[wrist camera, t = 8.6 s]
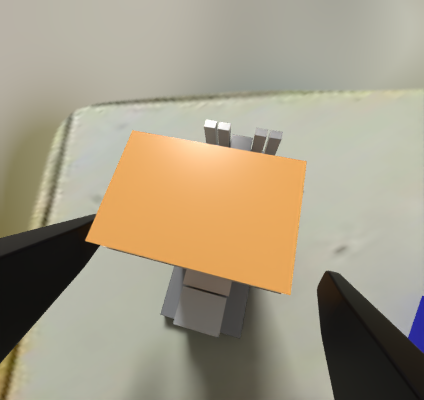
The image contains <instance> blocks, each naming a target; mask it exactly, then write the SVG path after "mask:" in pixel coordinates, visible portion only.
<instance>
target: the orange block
mask: <svg viewBox="0 0 424 400" xmlns="http://www.w3.org/2000/svg"><path fill="white" fill-rule="evenodd" d="M306 163H307V161H302V160H296V159H290V158H285V157H279V156H274V155H268V154H262V153H257V152H251V151H246V150H240V149H234V148H229V147H223V146H218V145H212V144H206V143H201V142H195V141H190V140H184V139H178V138H173V137H167V136H162V135H156V134H150V133H145V132H139V131H134V130H133V131H132V133H131V135H130V137H129V140H128V142H127V144H126V147H125V149H124V151H123V154H122V156H121V158H120V161H119V163H118V165H117V168H116V170H115V172H114V175H113V177H112V179H111V182H110V184H109V186H108V189H107V191H106V193H105V196H104V198H103V200H102V203H101V205H100V207H99V210H98V212H97V214H96V217H95V219H94V221H93V224H92V226H91V228H90V231H89V233H88V235H87V238H86V240H85V241H87V242H91V243H95V244H98V245H102V246H104V247H105V248H109V249H113V250H116V251H120V252H124V253H128V254H131V255H135V256H139V257H143V258H147V259H150V260H154V261H158V262H162V263H165V264H169V265H173V266H177V267H181V268H184V269H188V270H192V271H196V272H199V273H203V274H207V275H211V276H214V277H218V278H222V279H226V280H230V281H233V282H237V283H241V284H245V285H248V286H252V287H256V288H260V289H263V290H267V291H271V292H275V293H279V294H281V293H284V294H288V295H290V294H291V286H292V278H293V270H294V261H295V253H296V245H297V237H298V229H299V220H300V212H301V204H302V196H303V187H304V179H305V171H306Z"/></svg>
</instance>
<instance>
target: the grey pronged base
mask: <svg viewBox="0 0 424 400" xmlns="http://www.w3.org/2000/svg"><path fill="white" fill-rule="evenodd" d="M204 130H205V136H206V143H207V144H212V145H218V146H223V147H229V148H234V149H240V150H246V151H251V152H257V153H262V154H268V155H274V156H275V154H276V151H277V149H278V146H279V144H280V142H281V139H282V133H283V132H280V131H274V130H271V131H270V134H269V137H268V141H267V144H266V147H265V150H264V152H263V151H262V150H263V147H264V143H265V140H266V137H267V132H268V130H267V129H261V128H256V131H255V136H254V141H253V146H252V149H251V145H252V140H253V138H251V137H245V136H240V135H234V134H232V138H231V142H230V133H231V123H224V122H220V123H219V126H218V130H217V121H212V120H206V122H205V125H204ZM218 142H219V144H218ZM249 287H250V286H248V285H245V284H241V283H237V282H233V281H230V280H226V279H222V278H218V277H214V276H211V275H207V274H203V273H199V272H196V271H192V270H188V269H184V268H181V267H177V266H174V269H173V273H172V276H171V280H170V283H169V286H168V290H167V293H166V297H165V300H164V304H163V307H162V311H161V314H160V315H163V316H167V317H170V318H173V319H174V322H173V324H175V325H178V326H181V327H185V328H188V329H191V330H195V331H198V332H201V333H204V334H208V335H211V336H214V337H218V338H219V333H223V334H227V335H230V336H233V337H236V338H240V337H241V331H242V326H243V320H244V315H245V309H246V304H247V298H248V292H249Z"/></svg>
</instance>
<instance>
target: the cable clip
mask: <svg viewBox="0 0 424 400" xmlns="http://www.w3.org/2000/svg"><path fill="white" fill-rule="evenodd" d="M408 339H409V340H410V341H411V342H412V343H413V344H415V345H416V346H417V347H418V348H419V349H420V350H421V351H422V352H423V353H424V296H422V298H421V301H420V304H419V307H418V310H417V313H416V316H415V319H414V322H413V325H412V328H411V331H410V334H409V337H408Z"/></svg>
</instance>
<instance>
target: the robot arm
mask: <svg viewBox="0 0 424 400" xmlns="http://www.w3.org/2000/svg"><path fill="white" fill-rule="evenodd" d="M95 217H96V214H93V215H89V216H85V217H81V218H77V219H73V220H69V221H65V222H61V223H57V224H53V225H50V226H46V227H42V228H38V229H34V230H30V231H26V232H22V233H19V234H14V235H11V236H7V237H3V238H0V363H1V362H2V361H3V360H4V358H5V357H6V356H7V355H8V354H9V353H10V352H11V350H12V349H13V348H14V347H15V346H16V345H17V344H18V342H19V341H20V340H21V339H22V338H23V337H24V336H25V334H26V333H27V332H28V331H29V330H30V329H31V328H32V326H33V325H34V324H35V323H36V322H37V321H38V320H39V318H40V317H41V316H42V315H43V314H44V313H45V312H46V310H47V309H48V308H49V307H50V306H51V305H52V304H53V302H54V301H55V300H56V299H57V298H58V297H59V296H60V294H61V293H62V292H63V291H64V290H65V289H66V288H67V286H68V285H69V284H70V283H71V282H72V281H73V280H74V278H75V277H76V276H77V275H78V274H79V273H80V271H81V270H82V269H83V268H84V267H85V265H86V264H87V263H88V261H89V260H90V259H91V257H92V256H93V254H94V253H95V252H96V250H97V249H98V247H99V246H100V245H98V244H95V243H91V242H87V241H85V240H86V238H87V235H88V233H89V231H90V228H91V226H92V224H93V221H94V219H95ZM317 297H318V307H319V318H320V328H321V335H322V341H323V346H324V351H325V356H326V360H327V365H328V370H329V375H330V380H331V385H332V390H333V394H334V399H335V400H424V353H423V352H422V351H421V350H420V349H419V348H418V347H417V346H416V345H415V344H413V343H412V342H411V341H410V340H409V339H408V338H407V337H406V336H405V335H404V334H403V333H402V332H401V331H400V330H399V329H398V328H397V327H395V326H394V325H393V324H392V323H391V322H390V321H389V320H388V319H387V318H386V317H385V316H384V315H383V314H382V313H381V312H380V311H379V310H377V309H376V308H375V307H374V306H373V305H372V304H371V303H370V302H369V301H368V300H367V299H366V298H365V297H364V296H363V295H362V294H361V293H359V292H358V291H357V290H356V289H355V288H354V287H353V286H352V285H351V284H350V283H349V282H348V281H347V280H346V279H345V278H344V277H343V276H341V275H340V274H339V273H337V272H333V271H326V272H325V273H324V275H323V277H322V279H321V281H320V283H319V285H318V288H317Z"/></svg>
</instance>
